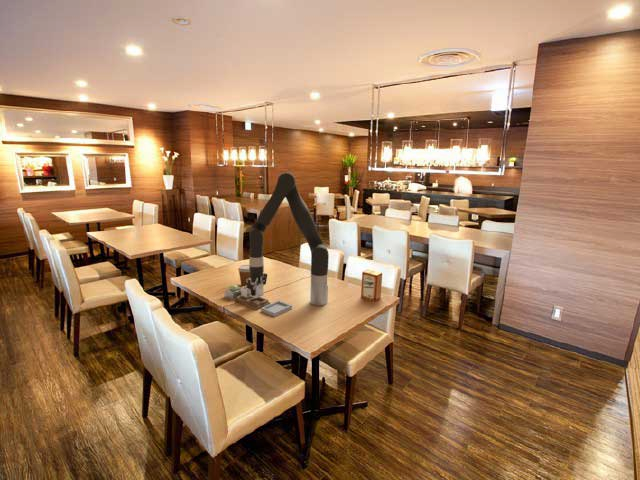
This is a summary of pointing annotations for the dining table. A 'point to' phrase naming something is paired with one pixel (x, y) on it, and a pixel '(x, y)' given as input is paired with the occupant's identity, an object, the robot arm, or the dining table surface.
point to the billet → (258, 290)
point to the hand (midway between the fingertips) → (256, 294)
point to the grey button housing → (232, 293)
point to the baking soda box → (371, 284)
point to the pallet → (253, 302)
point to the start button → (234, 288)
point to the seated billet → (245, 293)
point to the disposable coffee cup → (244, 274)
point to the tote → (276, 308)
